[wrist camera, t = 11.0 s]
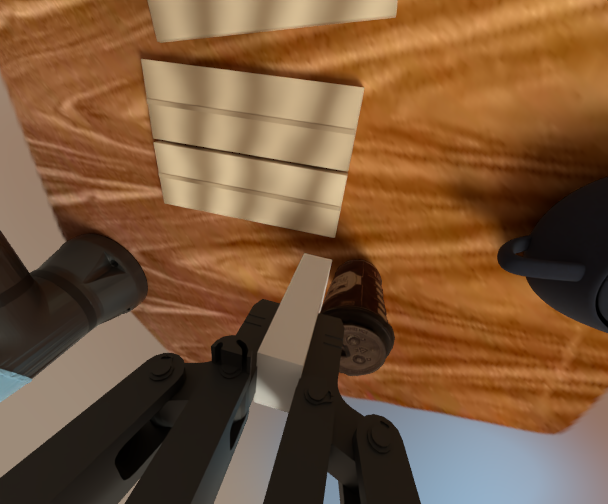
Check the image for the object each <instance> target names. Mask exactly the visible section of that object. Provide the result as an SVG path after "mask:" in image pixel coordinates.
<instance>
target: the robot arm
mask: <svg viewBox="0 0 608 504" xmlns="http://www.w3.org/2000/svg"><path fill="white" fill-rule="evenodd" d="M331 263H332V260H331V259H327V258H323V257H318V256H314V255H310V254H306V253H304V255H303V257H302V259H301V261H300V263H299V265H298V267H297V269H296V272H295V274H294V276H293V278H292V280H291V282H290V284H289V286H288V288H287V291H286V293H285V295H284V297H283V299H282V301H281V303H276V302H272V301H269V300H265V299H262V300H261V301H259V302H258V303H256V304H255V305H254V306H253V307H252V309H251V311H250V312H249V315H248V316H247V317H246V319H245V321H244V323H243V324H242V326H241V327H240V329H239V331H238V332H237V334H236V336H235V335H230V336H225V337H222V338H220V339H218V340H217V341H216V342H215V343H214V344H213V345H212V346H211V353H212V361H210V362H204V363H184V360H183V359H182V358H181V357H180V356H179V355H177V354H174V353H163V354H160V355H156V356H154V357H152V358H151V359H149V360H147V361H146V362H145V363H144V364H142V365H141V366H140V367H138V368H137V369H136V370H135V371H134V372H132V373H131V374H130V375H128V376H127V377H126V378H125V379H123V380H122V381H121V382H120V383H118V384H117V385H116V386H115V387H114V388H112V389H111V390H110V391H109V392H107V393H106V394H105V395H103V396H102V397H101V398H100V399H98V400H97V401H96V402H95V403H93V404H92V405H91V406H90V407H88V408H87V409H86V410H85V411H83V412H82V413H81V414H80V415H79V416H77V417H76V418H75V419H73V420H72V421H71V422H70V423H68V424H67V425H66V426H65V427H63V428H62V429H61V430H60V431H58V432H57V433H56V434H55V435H54V436H52V437H51V438H50V439H48V440H47V441H46V442H45V443H43V444H42V445H41V446H40V447H39V448H37V449H36V450H35V451H33V452H32V453H31V454H30V455H28V456H27V457H26V458H25V459H23V460H22V461H21V462H20V463H18V464H17V465H16V466H15V467H13V468H12V469H11V470H10V471H8V472H7V473H6V474H5V475H3V476H2V477H1V478H0V504H118V503H119V502H120V501H121V499H122V498H123V497H124V496H125V495H126V493H128V491H129V490H130V489H131V488H132V487H133V486H134V484H135V483H136V482H137V481H138V480H139V479H140V480H139V481H138V483H137V485H136V486H135V488H134V489H133V491H132V493H131V494H130V496H129V497H128V499H127V501H126V502H125V504H214V501H215V499H216V496H217V494H218V491H219V489H220V486H221V483H222V481H223V479H224V476H225V474H226V471H227V469H228V466H229V464H230V461H231V459H232V456H233V454H234V451H235V449H236V446H237V444H238V441H239V439H240V436H241V434H242V431H243V429H244V426H245V424H246V421H247V419H248V414H249V407H250V405H251V402H252V400H253V397H254V402H256V403H259V404H262V405H265V406H269V407H272V408H275V409H278V410H281V411H284V412H288V413H289V414H288V417H287V421H286V424H285V428H284V432H283V435H282V439H281V442H280V446H279V449H278V453H277V456H276V460H275V463H274V467H273V471H272V474H271V478H270V481H269V484H268V488H267V492H266V496H265V499H264V502H263V504H323V500H324V493H325V486H326V478H327V472H328V473H330V474H331V475H332V476H333V477H335V478H336V479H337V480H338V484H339V493H340V504H421V502H420V499H419V495H418V492H417V489H416V485H415V482H414V478H413V475H412V471H411V468H410V464H409V461H408V457H407V454H406V450H405V447H404V444H403V440H402V438H401V436H400V433H399V431H398V429H397V428H396V427H395V426H394V425H393V424H392V422H390V421H389V420H387V419H386V418H384V417H382V416H379V415H375V414H372V415H366V416H365V417H364V416H363V415H361V414H360V413H358V412H357V411H355V410H354V409H352V408H351V407H350V406H349V405H348V404H347V403H346V402H345V401H344V400H343V399H342V397H341V395H340V393H339V390H338V374H339V367H340V359H341V352H342V345H343V337H344V330H345V328H344V326H343V323H342V320H341V319H339V318H336V317H332V316H328V315H324V314H321V313H320V311H321V307H322V303H323V299H324V295H325V290H326V286H327V281H328V277H329V272H330V268H331ZM147 291H148V286H147V280H146V277H145V275H144V272H143V270H142V269H141V267H140V265H139V264H138V262H137V261H136V260H135V259H134V258H133V256H132V255H131V254H130V253H129V252H128V251H126V250H125V249H124V248H123V247H122V246H120V245H119V244H117V243H116V242H114V241H112V240H110V239H108V238H106V237H104V236H101V235H97V234H82V235H80V236H77V237H75V238H73V239H71V240H69V241H67V242H65V243H64V244H63V245H62V246H61V247H60V249H59V250H57V251H56V252H55V253H54V254H53V255H52V256H51V257H50V258H49V259H48V260H46V262H44V263H43V264H42V265H41V266H40V267H39V268H38V269H37V270H34V271H32V272H31V273H29V272H28V270H27V269H26V267H25V266H24V264H23V263H22V261H21V260H20V258H19V257H18V255H17V254H16V253H15V251H14V250H13V248H12V247H11V245H10V244H9V242H8V241H7V239H6V238H5V236H4V235H3V234H2V232H1V231H0V402H1V401H3V400H5V399H6V398H7V397H9V396H10V395H11V394H13V393H14V392H16V391H17V390H18V389H20V388H21V387H23V386H24V385H25V384H28V383H29V382H31V381H32V379H33V378H34V377H35V376H36V375H37V374H39V373H40V372H41V371H42V370H44V369H45V368H46V367H47V366H48V365H50V364H51V363H52V362H53V361H54V360H56V359H57V358H58V357H59V356H60V355H62V354H63V353H64V352H65V351H66V350H68V349H69V348H70V347H72V346H73V345H74V344H75V343H76V342H78V341H79V340H80V339H81V338H82V337H84V336H85V335H86V334H87V333H88V332H90V331H91V330H92V329H93V328H95V327H96V326H97V325H99V324H102V323H104V322H106V321H109V320H111V319H113V318H115V317H117V316H119V315H121V314H124V313H127V312H129V311H131V310H133V309H134V308H135V307H137V306H138V305H139V304H140V303H141V302H142V301H143V300H144V299H145V298H146V295H147Z"/></svg>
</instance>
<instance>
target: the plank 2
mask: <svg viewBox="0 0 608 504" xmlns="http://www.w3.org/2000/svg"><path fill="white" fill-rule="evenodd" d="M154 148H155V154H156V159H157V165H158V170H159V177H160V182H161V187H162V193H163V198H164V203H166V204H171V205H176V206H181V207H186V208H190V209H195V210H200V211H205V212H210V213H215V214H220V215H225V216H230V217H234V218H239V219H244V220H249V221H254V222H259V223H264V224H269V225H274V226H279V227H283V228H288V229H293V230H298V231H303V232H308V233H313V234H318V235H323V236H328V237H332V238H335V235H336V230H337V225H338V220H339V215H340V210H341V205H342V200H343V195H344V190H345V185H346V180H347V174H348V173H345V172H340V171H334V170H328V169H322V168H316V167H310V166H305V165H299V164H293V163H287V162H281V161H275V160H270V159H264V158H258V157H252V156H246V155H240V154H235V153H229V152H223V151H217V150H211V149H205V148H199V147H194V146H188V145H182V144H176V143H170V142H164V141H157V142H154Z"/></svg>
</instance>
